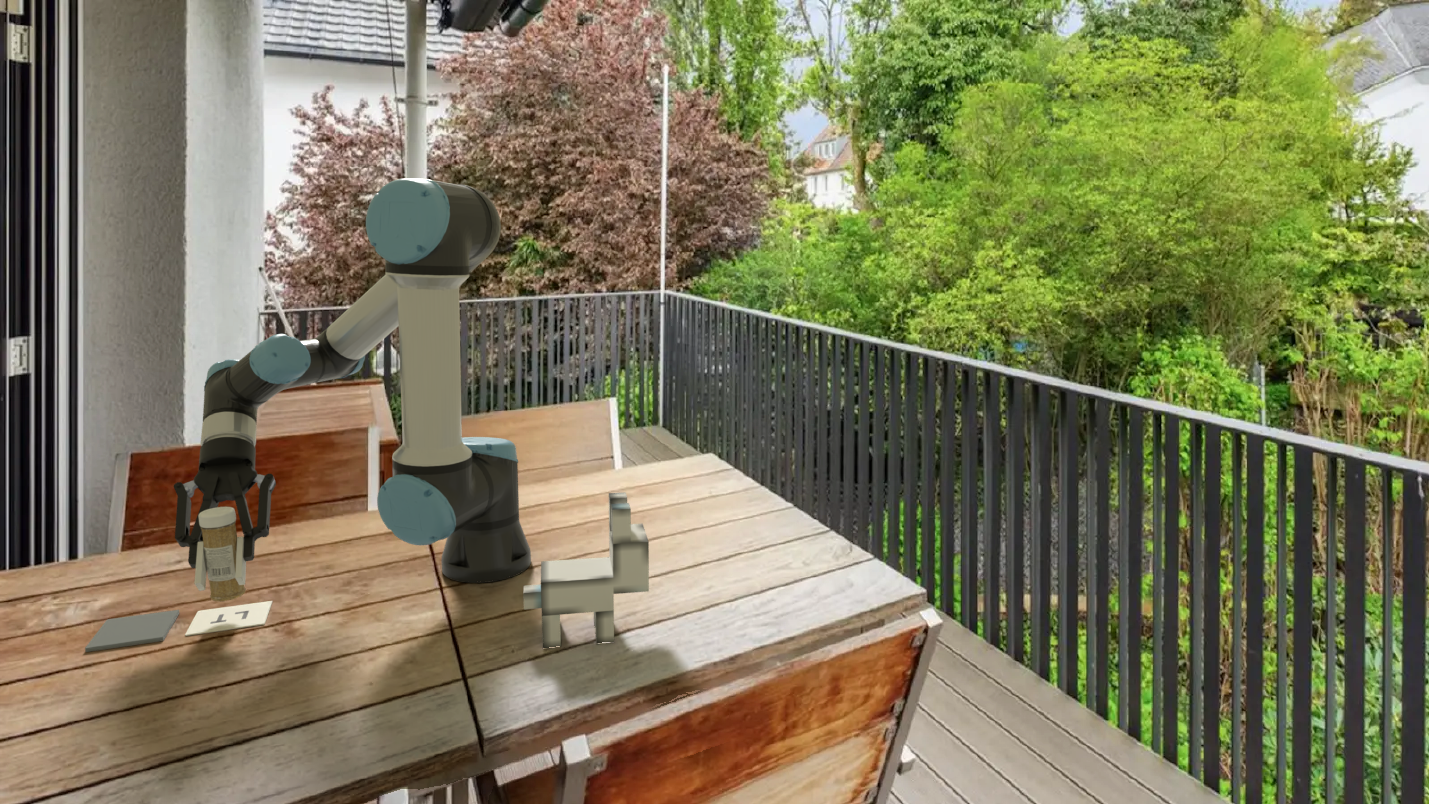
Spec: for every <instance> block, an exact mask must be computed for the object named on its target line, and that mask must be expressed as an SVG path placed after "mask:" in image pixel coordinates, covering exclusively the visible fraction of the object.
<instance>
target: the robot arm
mask: <svg viewBox="0 0 1429 804" xmlns="http://www.w3.org/2000/svg"><path fill="white" fill-rule="evenodd" d="M501 225H502V224H501V217H500V215H499V212H498V209H497V207H496V206H495V204H494V202H493V201H492V200H491V198H489V197H488V196H487V194H485V193H484V192H482V191H481V190H479V189H478V188H475V187H472V186H471V185H470V186H469V185H465V184H459V183H458V184H457V183H449V182H444V181H440V180H439V181H438V180H433V179H427V178H421V177H420V178H398V179H395V180H394V179H393V180H392V181H390V182H388V183H386V184H384V185H383V186H382V187H381V188H380V190H379V191H378V192H377V193H375V195H374V196H373V197H372V199H371V201H370V203H369V205H368V208H367V212H366V216H365V230H366V231H365V232H366V233H367V238H368V240H369V243H370V245H371V246H372V247H374V248H375V249H374V251H375V252H376V253H377V254H378V256H380V257H381V258H383V260H384V266H385V267H384V268H385V269H384V270H385V274H384V276H382V278H380V279H379V280H378V281H376V283H375V284H374V285H373V286H371V287H370V288H369V289H368V290H367V291H366V292H365V293H364V294H363V295H362V296H361V297H360V298H358V299H357V300H356V301H354V303H353V304H352V305H351V306H349V308H347V309H346V311H344V312H343V313H342V314H341V315H340V316H339V317H337V318H336V319H335V321H333V322H332V323H331V324H330V325H329V326H328V327H327V328H326V329H325V330H323V332H321V333H320V334H318V336H315V337H314V338H310V339H303V340H302V339H301V340H299V339H298V338H296V337H294V336H289V335H287V334H285V333H278V334H273V335H271V336H270V337H267V338H266V339H265V340H263V341H260V342H259V343H258V344H256V345H255V346H254V348H253V349H252V350H251V351H249V352H248V353H247V354H246V355H244V356H243V357H242V358H241V359H234V358H233V359H224V361H217V362H215V363H214V364H212V365H211V366H210V367H209V368H208V370H207V374H206V379H205V381H204V386H203V387H204V389H203V392H204V393H203V394H204V395H203V407H202V408H203V409H202V410H203V411H202V412H203V413H202V426H201V435H200V436H201V437H200V449H199V460H198V471H197V473H196V475H195V476H194V478H193V480H190V481H188V482H185V483H183V482H179V481H178V482H176V483H174V484H173V488H174V489H173V490H175V493H176V496H177V500H176V501H177V502H176V515H175V516H176V517H175V530H174V531H175V532H174V539H175V541H176V542H177V544H178V545H179V546H180V547H181V548H186V547H187V548H188V559H187V562H188V565H189V566H190V568H191V569H195V572H194V585H195V587H196V589H197V590H198V591H199V592H201V591H206V588H207V587H206V585H207V575H208V574H207V567H206V560H205V553H204V543H203V536H202V529H201V527H200V525H199V517H198V515H199V513H201V512H202V511H205V510H207V509H211V508H216V507H219V503H222V502H226V501H229V502H230V501H231V502H234V501H235V505H236V510H237V513H238V518H239V522H240V526H241V533H242V534H243V536H237V552H236V573H235V578H236V580H237V582H238V584H239V585H244V586H245V585H246V574H247V573H246V572H247V571H246V570H247V562H252V561H254V560H255V559H254V558H255V547H256V541H257V540H258V539H261V538H267V537H268V536H269V535H270V526H271V525H270V520H271V508H272V506H271V504H272V494H273V492H274V489H275V487H276V485H277V483H276V480H275V477H274V475H273V474H272V473H266V474H265V475H263V474H260V473H259V474H258V471H257V470H256V453H257V452H256V444H257V426H258V425H257V421H258V420H257V418H258V409H259V407H261V406H262V405H263V404H265V403H266V402H268V401H270V400H271V398H273V397H275V396H276V395H277V394H278V393H280V392H282V391H283V390H287V389H292V388H297V387H302V386H307V385H311V384H315V383H320V382H326V381H330V380H337V379H344V378H347V377H348V376H351V375H355V374H356V373H358V372H359V371H360V370H361V369H362V368H363V366H364V365H363V364H364V362H365V360H366V355H368V353H369V352H370V351H372V350H373V349H374V348H375V347H376V346H377V345H378V344H380V342H381V343H382V341H383V340H384V339H386V338H387V337H388V336H389V335H390V334H391V333H393V332H394V331H395V330H396V329H397V328H398V343H399V344H398V345H399V372H400V373H399V375H400V378H399V379H400V396H401V397H400V401H401V402H400V403H401V405H400V407H401V408H400V409H401V427H402V429H401V430H402V431H401V432H402V433H401V434H402V435H401V436H402V437H401V438H402V444H401V445H400V446H399V447H398V448H397V449H396V450H395V451H394V452H393V453H392V456H391V457H392V458H391V459H392V477H391V476H390V477H389V478H387V479H386V481H385V482H384V483H383V484H382V485H381V487H380V488H379V491H378V492H377V493H378V494H377V505H376V506H377V510H378V513H379V516H380V518H381V521H382V523H384V526H385V527H386V528H387V529H388V530H390V531H391V532H392V533H393V535H394V536H395V537H396V538H398V539H399V540H401V541H403V542H405V543H407V544H409V545H412V546H413V545H414V546H429V545H432V544H434V543H436V542H439V541H441V540H445V545H444V548H443V551H442V553H441V554H442V555H441V560H440V561H441V571H442V574H443V575H444V577H447V578H448V579H450V580H453V581H456V582H461V583H468V584H469V583H471V584H474V583H475V584H477V583H478V584H480V583H481V584H482V583H483V584H484V583H491V582H498V581H503V580H506V579H509V578H513V577H515V576H517V575H519V574H521V573H524V572H525V571H526V570H527V569H529V567H530V565H531V563H532V559H531V558H532V557H531V556H532V555H531V548H530V545H529V543H528V540H527V537H526V534H525V532H524V529H523V527H522V524H521V522H520V507H519V506H520V504H519V503H520V502H519V501H520V500H519V473H518V472H519V467H518V464H519V459H518V455H517V454H518V453H517V447H516V446H517V445H515V443H514V442H513V441H511V440H509V439H507V438H500V437H499V438H498V437H488V436H469V437H468V436H467V437H463V434H462V433H463V431H462V430H463V429H462V385H461V384H462V381H461V379H462V376H461V373H462V370H461V366H462V365H461V328H460V327H461V325H460V324H461V323H460V322H461V320H460V319H461V317H460V314H461V312H460V288H461V286H462V285H463V284H464V283H465V282H466V281H467V279H469V277H470V274H471V272H472V271H474V270H475V269H476V268H478V266H479V265H480V264H482V263H483V262H484V261H485V260H486V259H487V258H488V257H489V256H490V255H491V254H492V252H493V251H494V250H495V248H496V246H497V245H498V243H499V240H500V238H501V237H500V236H501V230H502V229H501V227H502V226H501ZM256 483H257V487H258V489H259V491H258V503H257V504H258V506H257V520H256V521H257V523H256V524H257V525H256V526H255V527H254V526H253V522H252V519H251V515H250V514H251V513H250V510H249V507H248V506H249V505H248V502H247V501H248V500H247V497H246V494H247V493H248V492H249V491H250V490H251V489H252V488H253V486H254V485H255V484H256ZM196 489H198V490H199V491H200V493H202V494H203V495H202V503H201V504H200V508H199V511H198V513H197V516H196V518H195V521H194V524H193V527H192V530H191V513H192V511H191V510H192V500H191V498H193V497H194V494H195V490H196ZM190 530H191V532H190Z"/></svg>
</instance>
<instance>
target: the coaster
mask: <svg viewBox="0 0 1429 804" xmlns="http://www.w3.org/2000/svg"><path fill="white" fill-rule="evenodd" d="M179 615H180V609H173V610H166V611H159V612H152V613H143V614H137V615H130V616H128V615H127V616H124V617H114V618H108V619H106V620H105V621H104V623H103V624H102V626H100V628H99V629H98V631H97V632H96V633H95V634H94V636H93V637H92V639H91V640H90V641H89V642H88V643H87V645H86V646H85V648H84V651H85V653H89V652H98V651H103V650H111V649H117V648H123V647H130V646H138V645H144V644H150V643H158V642H164V640H165V639H166V637H167V635H168V634H169V632H170V631H171V628H172V627H173V625H174V624H175V622H176V620H177V618H178V617H179ZM169 630H170V631H169Z"/></svg>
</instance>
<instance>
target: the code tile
mask: <svg viewBox="0 0 1429 804" xmlns="http://www.w3.org/2000/svg"><path fill="white" fill-rule="evenodd" d="M272 604H273V600H269V601H262V602H261V601H260V602H259V601H258V602H254V603H245V604H238V605H237V604H236V605H232V606H224V607H216V608H215V607H214V608H209V609H202V610H197V612H196V614H195V616H194V617H193V619H192V621H191V623H190V625H189V627H187V630H186V632H185V634H184V636H185V637H189V636H196V635H202V634H208V633H215V632H224V631H228V630H230V631H231V630H236V629H241V628H242V629H244V628H249V627H251V628H252V627H257V626H265V624H266V622H267V619H268V616H269V613H270V610H271V607H272Z"/></svg>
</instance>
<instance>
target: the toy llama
mask: <svg viewBox="0 0 1429 804" xmlns="http://www.w3.org/2000/svg"><path fill="white" fill-rule="evenodd" d="M631 509H632V508H631V506H630V503H629V502H628V496H627V492H608V536H609V537H608V539H609V541H608V543H609V544H608V546H609V547H608V548H609V552H608V553H609V556H605V557H590V558H589V557H588V558H587V557H586V558H574V559H572V558H571V559H560V560H559V559H557V560H545V561H540V562H541V564H540V584H529V585H523V589H522V590H523V591H522V592H523V593H522V595H523V610H533V609H534V610H535V609H541V610H540V611H541V631H542V633H541V636H542V637H541V640H542V642H541V643H542V649H543V648H549V647H556V646H561V645H562V644H561V643H562V641H561V638H562V637H561V636H562V635H561V615H573V614H584V613H585V614H586V613H593V624H594V625H593V626H595V627H594V630H595V634H596V635H595V642H596V643H602V642H614V643H615V608H614V603H615V602H614V601H615V599H614V595H617V594H618V595H619V594H630V593H632V594H633V593H643V592H644V593H646V592H650V590H649V589H650V587H649V586H650V582H649V581H650V575H649V574H650V572H649V571H650V568H649V567H650V565H649V564H650V561H649V559H650V557H649V554H650V552H649V551H650V548H649V546H650V544H649V542H650V541H649V539H648V535H647V533H646V529H645V526H644V524H643V523H631V522H632V521H631V520H632V517H631V516H632V514H631V512H632V510H631ZM596 643H595V644H596ZM561 647H562V646H561ZM549 649H550V648H549Z"/></svg>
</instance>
